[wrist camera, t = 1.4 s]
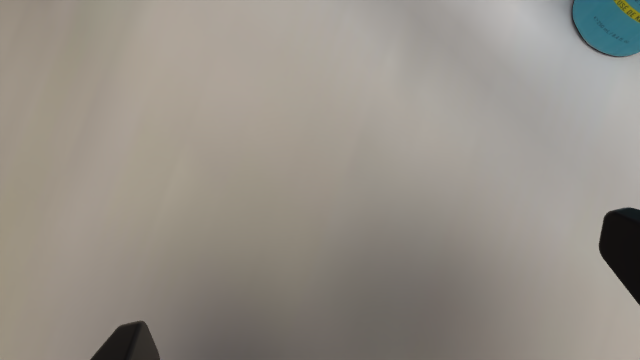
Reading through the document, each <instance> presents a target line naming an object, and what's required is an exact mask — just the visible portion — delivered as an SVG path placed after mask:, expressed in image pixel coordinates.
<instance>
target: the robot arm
mask: <svg viewBox="0 0 640 360" xmlns="http://www.w3.org/2000/svg"><path fill="white" fill-rule="evenodd" d="M599 251H600V254H601V256H602V257H603V259H604V260H605V261H606V263H607V264H608V265H609V267H610V268H611V269H612V270H613V272H614V273H615V274H616V276H617V277H618V278H619V279H620V281H621V282H622V283H623V285H624V286H625V287H626V288H627V290H628V291H629V292H630V294H631V295H632V296H633V297H634V299H635V300H636V301H637V303H638V304H639V305H640V210H638V209H634V208H621V209H617V210H613V211H609V212H608V213H607V214H606V215H605V216H604V220H603V225H602V230H601V236H600V241H599ZM90 360H160V357H159V353H158V350H157V348H156V345H155V343H154V341H153V338H152V336H151V333H150V331H149V329H148V326H147V325H146V323H145V322H143V321H137V322H132V323H128V324H124V325H121V326H119V327H118V328H117V329H116V330H115V331H114V332H113V334H112V335H111V336H110V337H109V338H108V339H107V341H106V342H105V343H104V344H103V345H102V346H101V348H100V349H99V350H98V351H97V352H96V353H95V355H94V356H93V357H92V358H91V359H90Z"/></svg>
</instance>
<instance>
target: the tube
mask: <svg viewBox="0 0 640 360" xmlns="http://www.w3.org/2000/svg"><path fill="white" fill-rule="evenodd" d="M573 19H574V22H575V24H576V27H577V29H578V31H579V32H580V34H581V35H582V37H583V38H584V40H585V41H586V42H587V43H588V44H589V45H590V46H592V47H594V48H595V49H597V50H599V51H601V52H603V53H606V54H609V55H614V56H628V55H632V54H635V53H638V52H640V0H574V5H573Z"/></svg>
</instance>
